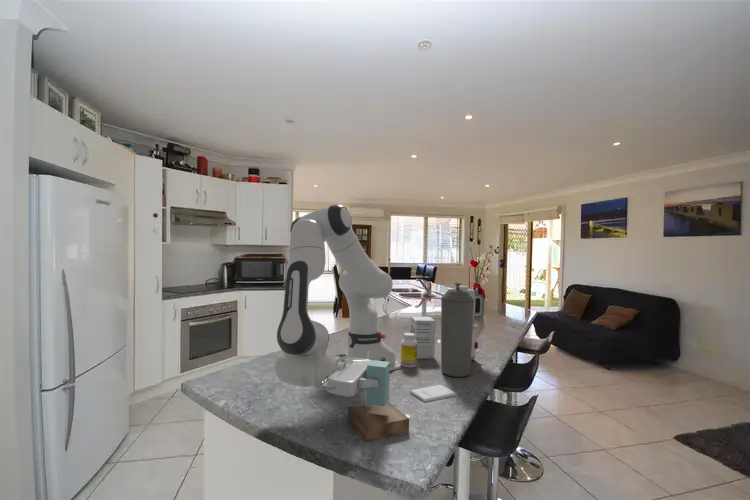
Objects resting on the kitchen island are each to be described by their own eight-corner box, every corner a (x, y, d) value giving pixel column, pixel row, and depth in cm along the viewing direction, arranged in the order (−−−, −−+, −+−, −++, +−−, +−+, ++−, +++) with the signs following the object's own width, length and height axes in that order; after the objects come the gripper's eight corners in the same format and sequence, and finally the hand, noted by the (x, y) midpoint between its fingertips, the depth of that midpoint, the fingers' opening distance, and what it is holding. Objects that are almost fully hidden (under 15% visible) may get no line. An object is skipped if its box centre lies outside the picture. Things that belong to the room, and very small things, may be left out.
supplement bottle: (416, 368, 145) (417, 336, 145) (399, 367, 146) (400, 335, 146) (417, 363, 152) (418, 332, 152) (401, 362, 153) (402, 331, 153)
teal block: (370, 396, 99) (371, 360, 99) (388, 399, 98) (389, 361, 98) (365, 404, 94) (367, 365, 94) (384, 406, 93) (385, 367, 93)
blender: (443, 361, 156) (445, 286, 156) (448, 353, 168) (449, 284, 168) (481, 366, 151) (483, 288, 151) (483, 358, 162) (485, 286, 162)
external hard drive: (455, 397, 118) (424, 404, 113) (439, 388, 126) (409, 394, 120) (455, 392, 118) (424, 398, 113) (439, 384, 126) (409, 389, 120)
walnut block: (386, 414, 104) (387, 400, 104) (408, 434, 93) (409, 418, 93) (347, 422, 99) (348, 407, 99) (366, 443, 88) (366, 427, 88)
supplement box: (409, 352, 168) (410, 316, 168) (429, 352, 169) (430, 316, 169) (414, 358, 159) (415, 320, 159) (434, 358, 160) (435, 320, 160)
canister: (461, 366, 149) (463, 281, 149) (479, 377, 137) (481, 284, 137) (433, 369, 145) (435, 281, 145) (449, 380, 133) (451, 284, 133)
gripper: (317, 373, 89) (371, 380, 86) (344, 352, 109) (389, 356, 106) (316, 399, 89) (370, 406, 86) (343, 373, 109) (389, 378, 106)
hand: (381, 379), depth 96 cm, fingers closed on teal block, 5 cm apart
